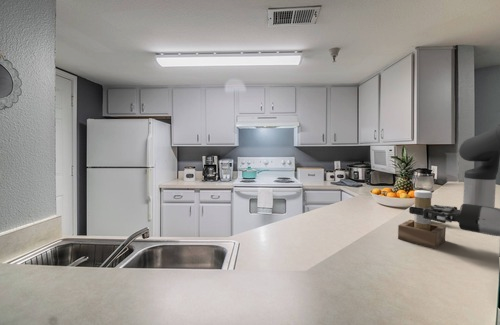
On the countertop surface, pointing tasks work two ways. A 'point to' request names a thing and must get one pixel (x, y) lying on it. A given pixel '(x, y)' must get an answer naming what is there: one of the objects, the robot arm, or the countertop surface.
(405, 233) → the box
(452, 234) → the countertop surface
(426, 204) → the sprinkles bottle
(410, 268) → the countertop surface
